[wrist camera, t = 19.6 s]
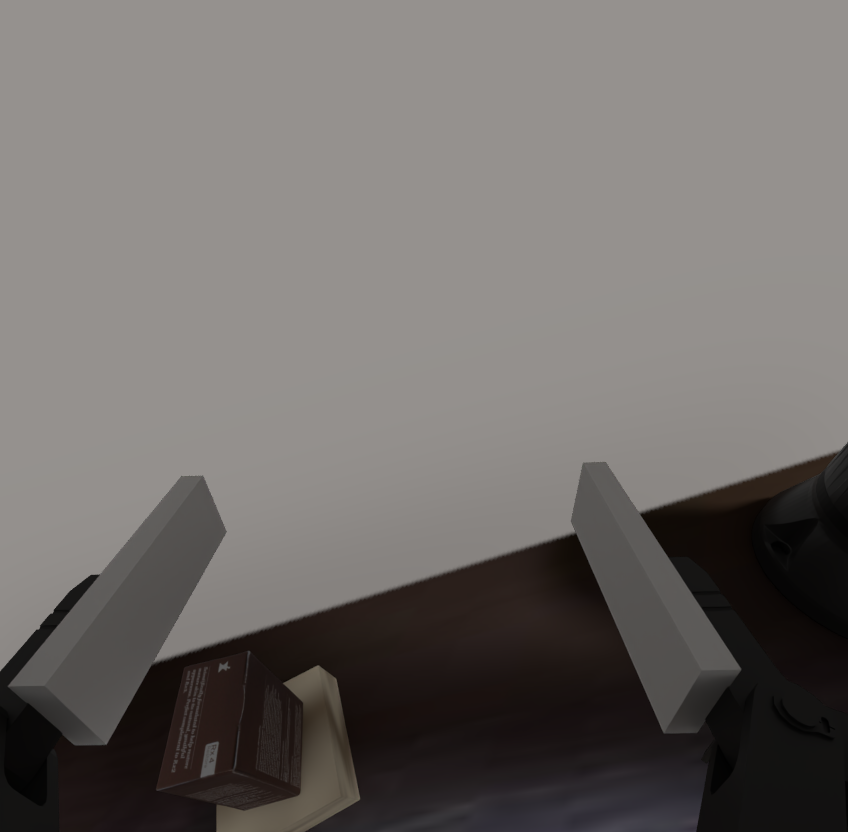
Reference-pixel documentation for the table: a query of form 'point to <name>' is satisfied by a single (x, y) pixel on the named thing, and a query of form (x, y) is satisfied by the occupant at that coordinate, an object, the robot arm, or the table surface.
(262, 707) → the box
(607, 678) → the table surface
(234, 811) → the ash block
